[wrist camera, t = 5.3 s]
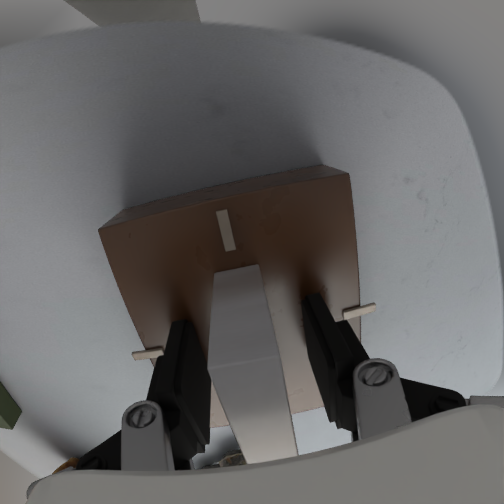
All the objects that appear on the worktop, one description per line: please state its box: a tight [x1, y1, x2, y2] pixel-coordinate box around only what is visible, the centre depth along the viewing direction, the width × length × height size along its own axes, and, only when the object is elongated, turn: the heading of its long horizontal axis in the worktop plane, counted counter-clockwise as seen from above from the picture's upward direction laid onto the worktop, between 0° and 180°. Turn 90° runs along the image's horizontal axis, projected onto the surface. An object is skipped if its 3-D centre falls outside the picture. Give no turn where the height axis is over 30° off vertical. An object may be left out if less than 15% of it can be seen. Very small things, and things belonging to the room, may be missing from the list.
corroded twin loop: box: [202, 449, 247, 469], centre depth 20 cm, size 5×8×1 cm, turn 144°
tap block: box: [98, 165, 376, 428], centre depth 14 cm, size 11×10×3 cm
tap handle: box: [207, 264, 299, 464], centre depth 10 cm, size 6×2×5 cm, turn 11°
